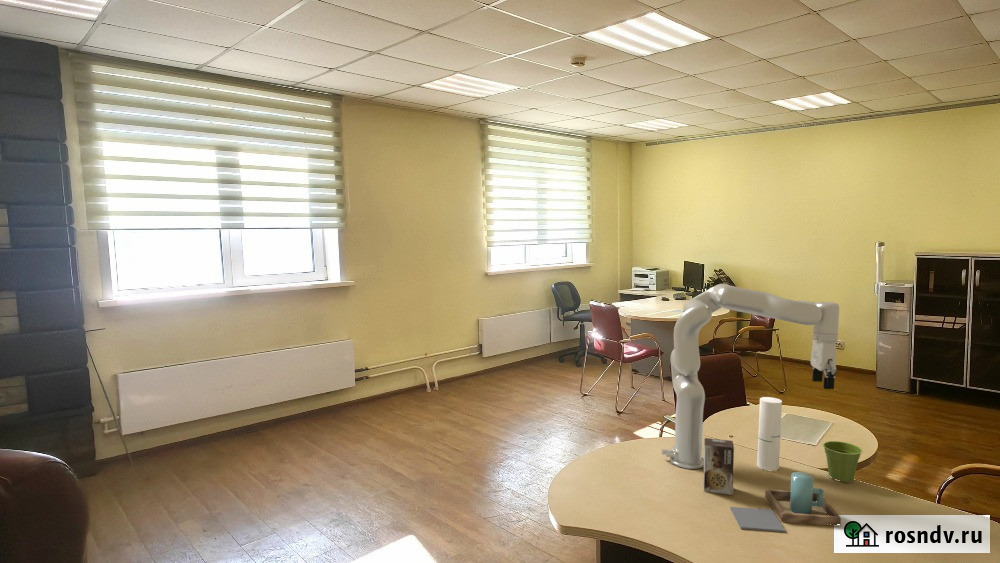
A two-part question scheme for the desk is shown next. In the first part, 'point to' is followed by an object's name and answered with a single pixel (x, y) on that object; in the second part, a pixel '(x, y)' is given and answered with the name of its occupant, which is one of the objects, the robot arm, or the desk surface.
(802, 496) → the teal mug
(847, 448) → the plant pot
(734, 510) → the rubber mat
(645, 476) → the desk surface
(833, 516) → the brown wooden square frame
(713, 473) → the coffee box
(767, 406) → the cylindrical container
